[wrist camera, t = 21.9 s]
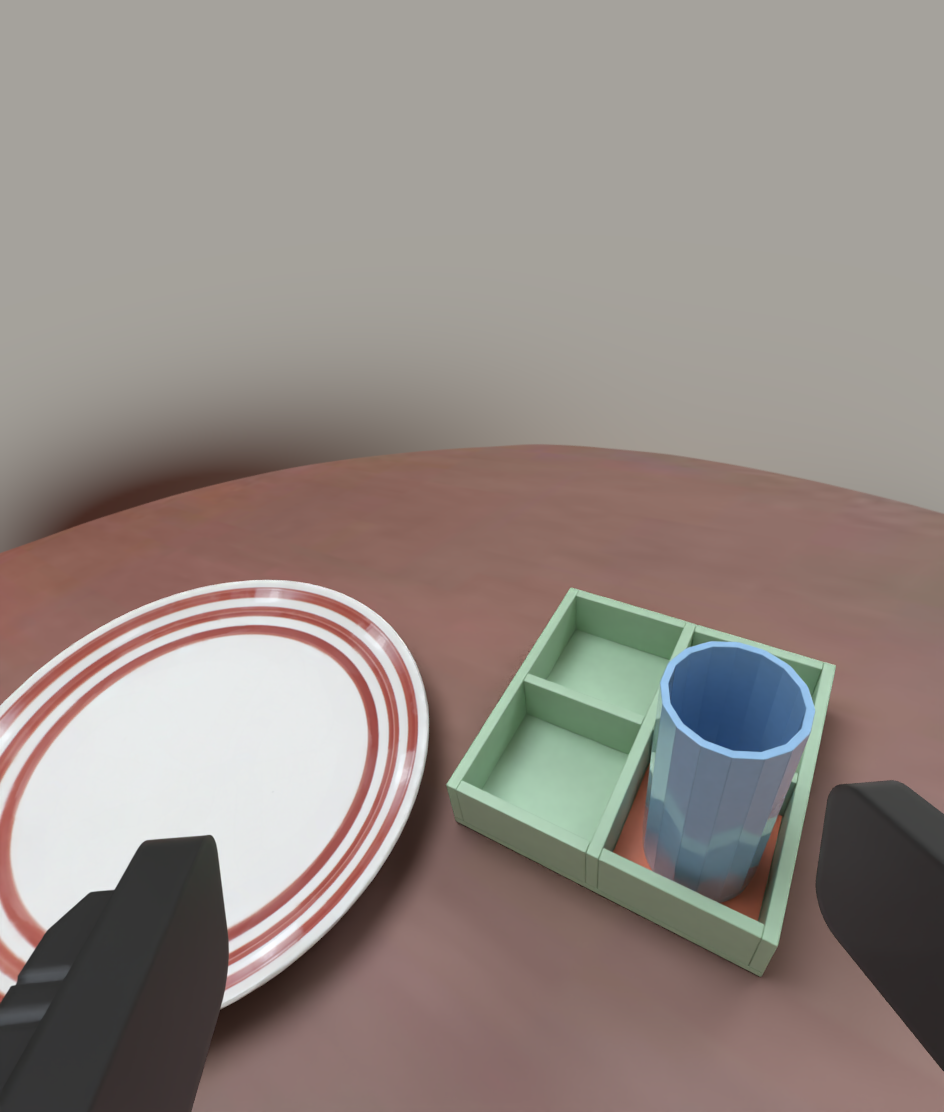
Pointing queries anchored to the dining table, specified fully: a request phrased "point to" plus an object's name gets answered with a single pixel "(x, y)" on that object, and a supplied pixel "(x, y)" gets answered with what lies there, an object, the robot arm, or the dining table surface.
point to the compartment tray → (619, 772)
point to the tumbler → (721, 763)
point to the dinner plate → (214, 763)
